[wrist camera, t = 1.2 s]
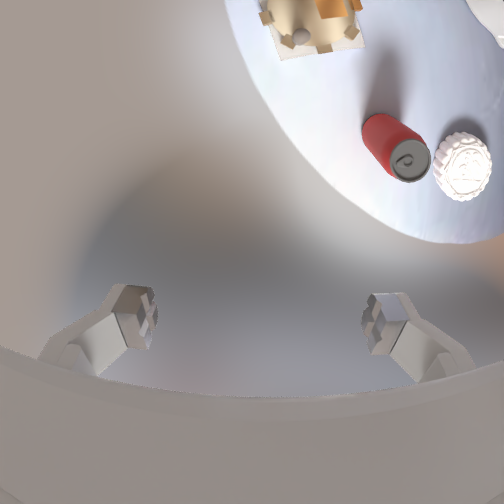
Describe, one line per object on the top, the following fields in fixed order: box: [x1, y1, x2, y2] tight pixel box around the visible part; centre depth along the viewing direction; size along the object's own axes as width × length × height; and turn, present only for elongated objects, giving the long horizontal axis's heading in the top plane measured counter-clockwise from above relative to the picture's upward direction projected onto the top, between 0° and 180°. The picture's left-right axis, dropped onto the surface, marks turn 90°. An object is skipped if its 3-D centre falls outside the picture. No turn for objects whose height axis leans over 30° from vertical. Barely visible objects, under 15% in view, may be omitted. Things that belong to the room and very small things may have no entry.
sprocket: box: [259, 0, 363, 54], centre depth 22 cm, size 13×13×8 cm
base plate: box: [259, 0, 365, 61], centre depth 26 cm, size 12×13×1 cm
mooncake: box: [433, 132, 492, 201], centre depth 35 cm, size 12×12×4 cm
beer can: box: [362, 114, 431, 183], centre depth 32 cm, size 7×7×12 cm
